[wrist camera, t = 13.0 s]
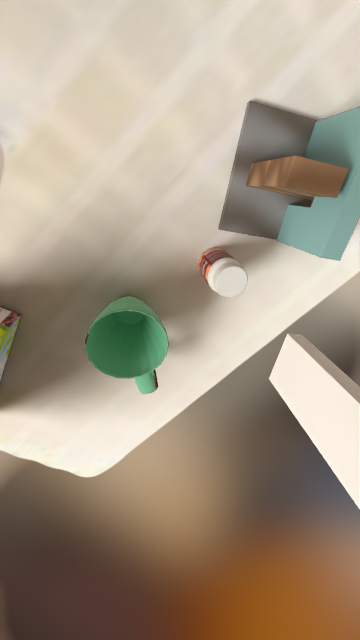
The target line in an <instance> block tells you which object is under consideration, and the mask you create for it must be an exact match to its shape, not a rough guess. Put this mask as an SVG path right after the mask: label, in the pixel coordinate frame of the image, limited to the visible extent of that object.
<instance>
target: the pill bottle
mask: <svg viewBox="0 0 360 640" xmlns="http://www.w3.org/2000/svg"><path fill="white" fill-rule="evenodd" d="M198 270H199V272H200V274H201V275H202V277H203V278H204V279H205V281H206V282H207V283H208V285H209V286H210V288H211V289H212V290H214V291H215V292H218V293H219V294H220V295H221V296H223V297H227V298H231V297H235V296H237V295H239V294H240V293H242V292H243V290H244V289H245V287H246V285H247V280H248V279H247V274H246V272H245V271H244V270H243V268H242V266H241V264H240V263H239V262H238V261H237V260H236V259H234V258H233V257H232V256H230V255H229V254H227V253H226V252H225V251H223V250H222V249H219V248H211V249H208V250H206V251H205V252H203V253H202V255H201V256H200V258H199V260H198Z"/></svg>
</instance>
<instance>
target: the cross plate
mask: <svg viewBox="0 0 360 640" xmlns="http://www.w3.org/2000/svg"><path fill="white" fill-rule="evenodd" d="M304 158H308V159H312V160H315V161H319V162H323V163H327V164H331V165H335V166H339V167H342V168H346V169H349V170H348V172H347V175H346V177H345V180H344V182H343V185H342V187H341V189H340V192H339V194H338V197H337V198H332V197H317V196H315V197H314V200H313V202H312V205H311V208H309V207H302V206H294V205H288V207H287V210H286V214H285V217H284V220H283V223H282V226H281V229H280V232H279V235H278V238H277V241H280V242H282V243H285V244H287V245H290V246H292V247H295V248H298V249H300V250H303V251H305V252H308V253H310V254H313V255H315V256H318V257H321V258H326V259H333V260H339V261H340V259H341V257H342V255H343V252H344V250H345V248H346V246H347V244H348V241H349V239H350V237H351V235H352V233H353V230H354V228H355V226H356V224H357V222H358V219H359V217H360V107H358V108H355V109H352V110H349V111H346V112H343V113H340V114H337V115H334V116H331V117H329V118H326V119H323V120H320V121H317V122H316V123H315V126H314V129H313V132H312V135H311V138H310V141H309V144H308V147H307V150H306V153H305V156H304Z"/></svg>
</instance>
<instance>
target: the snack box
mask: <svg viewBox="0 0 360 640" xmlns="http://www.w3.org/2000/svg"><path fill="white" fill-rule="evenodd" d="M20 317H21V314H18V313H15V312H12V311H9V310H6V309H3V308H1V307H0V380H1V377H2V374H3V371H4V368H5V364H6V361H7V358H8V355H9V352H10V348H11V345H12V342H13V339H14V336H15V333H16V329H17V326H18V323H19V320H20Z"/></svg>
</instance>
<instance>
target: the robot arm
mask: <svg viewBox="0 0 360 640" xmlns="http://www.w3.org/2000/svg"><path fill="white" fill-rule="evenodd" d="M269 379H270V381H271V382H272V384H273V385H274V387H275V388H276V389H277V391H278V392H279V393H280V395H281V397H282V398H283V399H284V401H285V402H286V403H287V405H288V407H289V408H290V410H291V411H292V413H293V414H294V415H295V417H296V418H297V420H298V421H299V422H300V424H301V425H302V427H303V428H304V430H305V431H306V433H307V434H308V435H309V437H310V438H311V439H312V441H313V443H314V444H315V446H316V447H317V448H318V450H319V451H320V453H321V454H322V456H323V457H324V458H325V460H326V461H327V463H328V464H329V465H330V467H331V469H332V470H333V471H334V473H335V474H336V476H337V477H338V479H339V480H340V482H341V483H342V484H343V486H344V487H345V489H346V490H347V492H348V493H349V494H350V496H351V497H352V499H353V500H354V502H355V503H356V505H357V506H358V507H359V509H360V387H359V386H358V385H357V384H356V383H354V381H352V380H351V379H350V378H349V377H348V376H347V375H346V374H345V373H343V372H342V371H341V370H340V369H339V368H338V367H337V366H336V365H334V364H333V363H332V362H331V361H330V360H329V359H328V358H327V357H326V356H325V355H323V354H322V353H321V352H320V351H319V350H318V349H317V348H316V347H314V346H313V345H312V344H311V343H310V342H309V341H308V340H307V339H305V337H303V336H302V335H298V334H287V336H286V339H285V341H284V343H283V346H282V348H281V351H280V353H279V356H278V358H277V361H276V363H275V365H274V368H273V370H272V373H271V375H270V378H269Z"/></svg>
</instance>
